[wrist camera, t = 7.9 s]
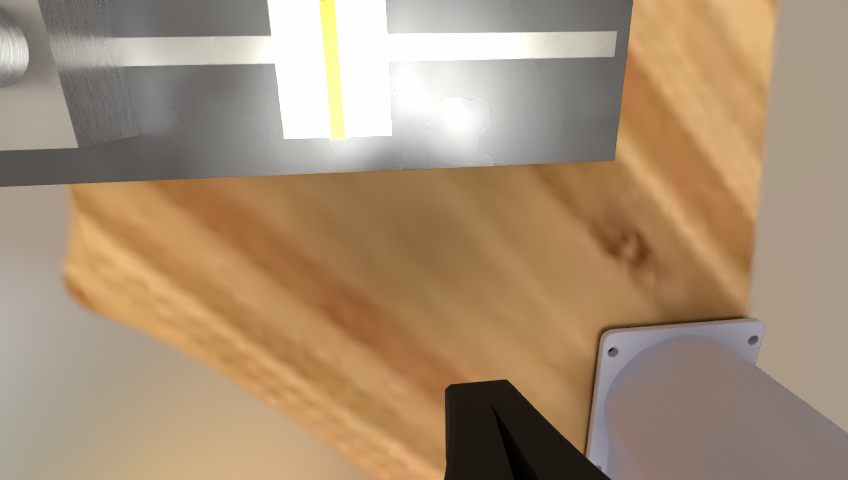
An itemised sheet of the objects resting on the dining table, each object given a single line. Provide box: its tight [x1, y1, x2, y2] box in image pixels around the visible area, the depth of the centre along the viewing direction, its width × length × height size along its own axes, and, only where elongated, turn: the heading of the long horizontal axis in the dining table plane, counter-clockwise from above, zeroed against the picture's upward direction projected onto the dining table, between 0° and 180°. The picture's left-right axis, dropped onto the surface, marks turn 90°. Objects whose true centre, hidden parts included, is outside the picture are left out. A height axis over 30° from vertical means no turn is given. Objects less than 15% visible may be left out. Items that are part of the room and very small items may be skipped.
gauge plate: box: [0, 0, 633, 187], centre depth 12 cm, size 8×22×7 cm, turn 91°
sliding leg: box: [267, 0, 391, 139], centre depth 13 cm, size 5×3×2 cm, turn 1°
